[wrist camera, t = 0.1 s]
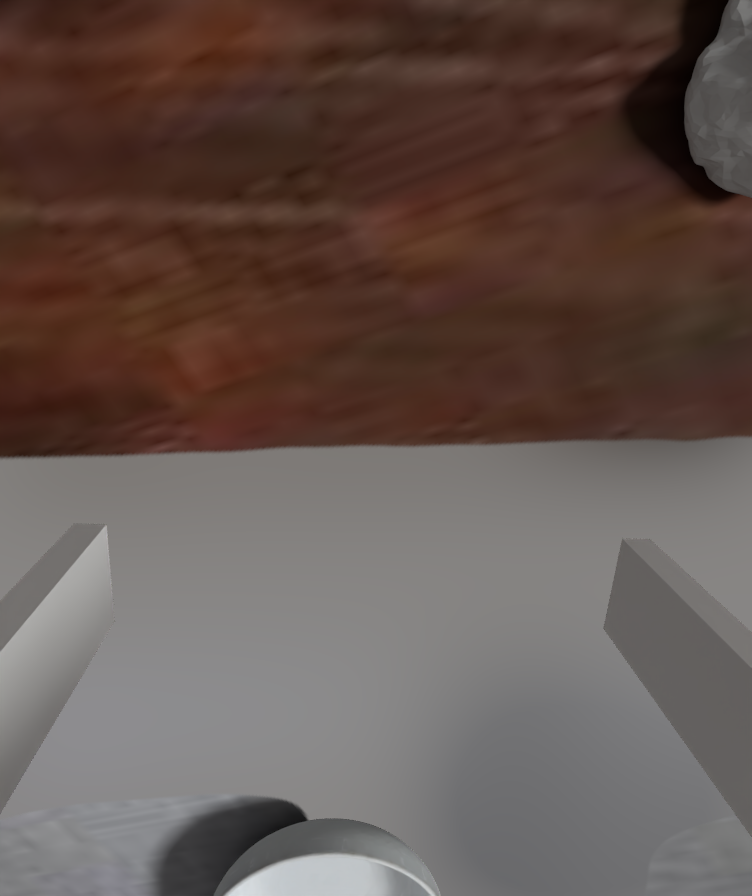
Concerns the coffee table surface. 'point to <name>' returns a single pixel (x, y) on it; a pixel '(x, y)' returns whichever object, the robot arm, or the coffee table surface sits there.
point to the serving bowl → (329, 863)
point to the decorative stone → (724, 103)
